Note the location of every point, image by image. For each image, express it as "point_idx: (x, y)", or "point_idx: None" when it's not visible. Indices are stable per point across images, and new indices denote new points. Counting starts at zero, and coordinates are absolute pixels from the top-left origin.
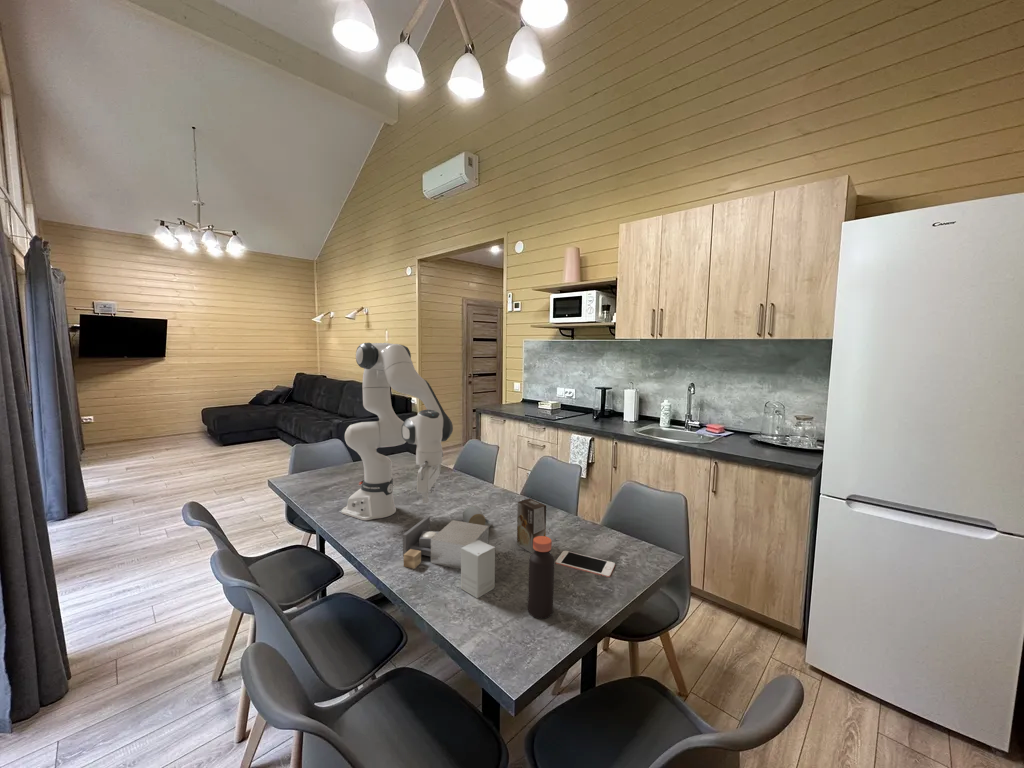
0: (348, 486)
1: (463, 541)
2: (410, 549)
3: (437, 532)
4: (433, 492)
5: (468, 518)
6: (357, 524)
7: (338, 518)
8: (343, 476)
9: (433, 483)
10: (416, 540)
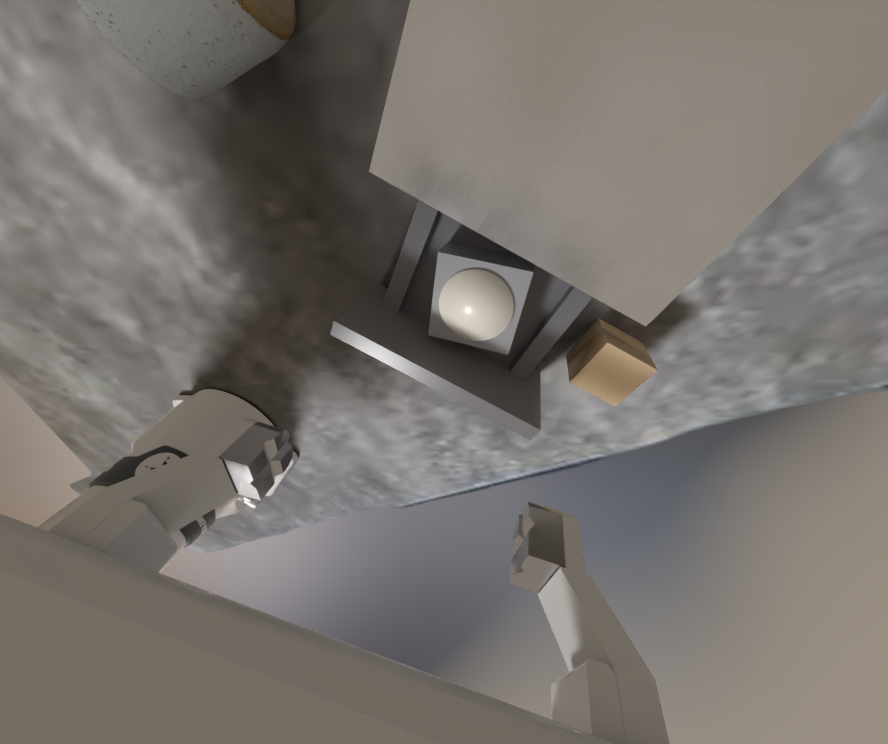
0: None
1: (850, 26)
2: (575, 381)
3: (448, 267)
4: (285, 431)
5: (236, 30)
6: (320, 469)
7: (299, 496)
8: None
9: (371, 704)
10: (469, 350)
